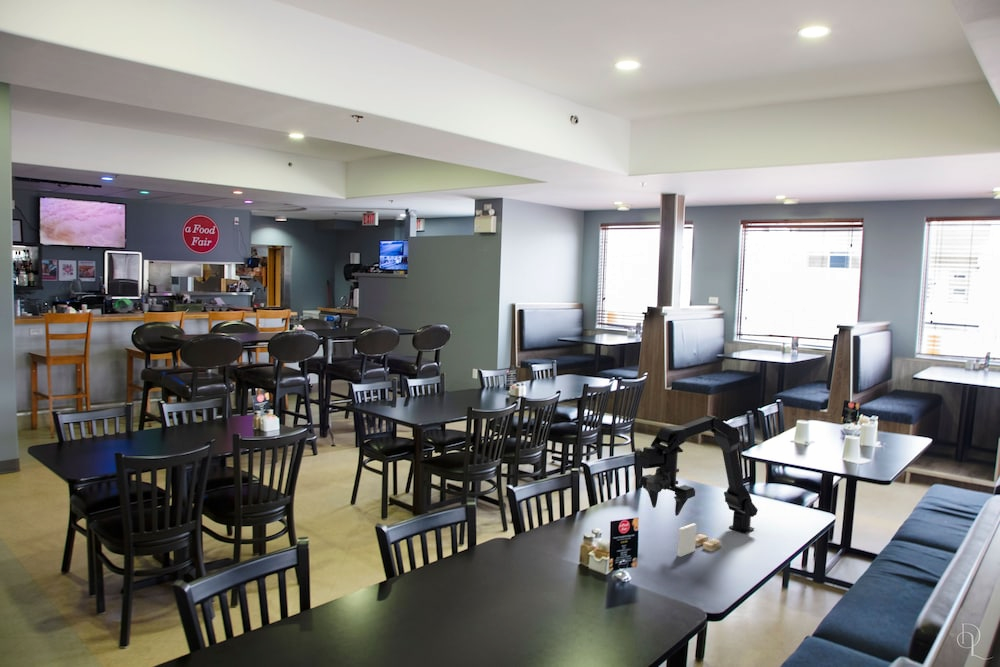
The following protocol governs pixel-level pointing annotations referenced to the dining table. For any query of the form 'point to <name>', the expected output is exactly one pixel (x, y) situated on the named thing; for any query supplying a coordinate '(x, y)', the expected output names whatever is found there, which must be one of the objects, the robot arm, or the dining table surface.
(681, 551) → the white board
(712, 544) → the oak holder
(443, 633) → the dining table surface
